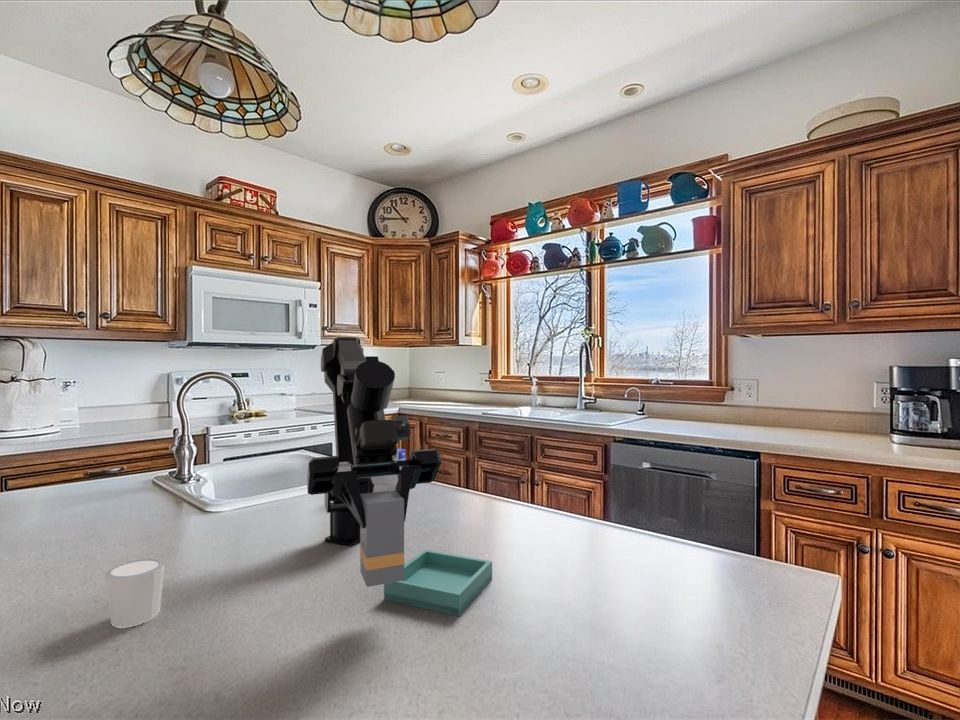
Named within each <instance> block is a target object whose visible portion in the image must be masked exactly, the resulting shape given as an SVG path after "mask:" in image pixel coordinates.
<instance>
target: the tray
mask: <svg viewBox="0 0 960 720" xmlns="http://www.w3.org/2000/svg"><path fill="white" fill-rule="evenodd" d="M492 581H493V561H492V560H488V559H481V558H475V557H470V556H464V555H458V554H452V553H446V552H440V551H435V550H431V549H424V550H423V551H421V552H420V553H419V554H416V556H414V557H413V558H411V559H410V560H408V561H407V562H406V563H404V580H403V581H397V582H392V583H386V584H383V599H384V600H386V601H389V602H394V603H399V604H402V605H403V604H404V605H406V606H407V605H408V606H412V607H416V608H420V609H426V610H429V611H433V612H439V613H443V614H448V615H450V616H456V617H460V616H461V615H462V614H463V613H464V612H465V610H466V609H468V607H469V606H470V605H471V604H472V603H473V602H474V601H475V599H476V598H477V597H478V596H479V595H480V594H481V593H482V592H483V591H484V589H486V587H487V586H488V585H489V584H490V583H491V582H492Z"/></svg>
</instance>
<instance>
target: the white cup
mask: <svg viewBox="0 0 960 720" xmlns="http://www.w3.org/2000/svg"><path fill="white" fill-rule="evenodd" d="M165 565H166V563H165V560H164V559H160V558H139V559H134V560H130V561H127V562H124V563H120V564H117V565H115V566H113V567H111V568H109V569H108V570H107V571H106V572H105V573H104V575H105V576H104V577H105V585H106V592H107V600H108V608H109V610H108V611H109V617H110V625H111V624H113V625H114V626H122V627H123V626H130V625H135V624H138V623H142V622H145V621H147V620H149V619H152V618H153V617H155V616H156V615H158V613H159V612H160V613H161V606H162V605H161V604H162V596H163V595H162V594H163V585H164V578H165V577H164V575H165ZM158 616H159V615H158Z"/></svg>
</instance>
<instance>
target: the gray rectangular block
mask: <svg viewBox="0 0 960 720" xmlns="http://www.w3.org/2000/svg"><path fill="white" fill-rule="evenodd" d="M360 495H361V500H362V504H363V508H364V512H365V522H366V526H365V528H362V527H361V526H360V541H359V542H360V543H359V551H360V552H359V554H360V556H359V557H360V569H359V570H360V574H361V577H362V579H363V582H364V583H365V586H366V587H367V588H368V587H369V588H370V587H373V586H380V585H384V584H386V583H392V582H397V581H403V580H404V565H405V522H404V499H403V498H402V497H401V496H400V495H399V494H398V492H397V491H396V490H393V491H384V492H374V493H365V494H360Z"/></svg>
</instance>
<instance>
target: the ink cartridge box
mask: <svg viewBox="0 0 960 720" xmlns="http://www.w3.org/2000/svg"><path fill="white" fill-rule="evenodd" d="M406 454H407V452H406V448H397V453H396V455H395V456H393V460H394V461H402V460H407V458H406V457H407V456H406ZM371 480H372V483H373V484H374V491H373V493H374V492H384V491H393V490H396V489H395V488H396V485H397V482H398V477H397V475H389V476H378V477H371Z"/></svg>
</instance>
